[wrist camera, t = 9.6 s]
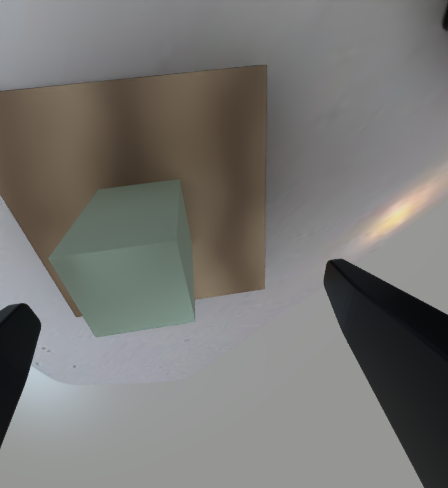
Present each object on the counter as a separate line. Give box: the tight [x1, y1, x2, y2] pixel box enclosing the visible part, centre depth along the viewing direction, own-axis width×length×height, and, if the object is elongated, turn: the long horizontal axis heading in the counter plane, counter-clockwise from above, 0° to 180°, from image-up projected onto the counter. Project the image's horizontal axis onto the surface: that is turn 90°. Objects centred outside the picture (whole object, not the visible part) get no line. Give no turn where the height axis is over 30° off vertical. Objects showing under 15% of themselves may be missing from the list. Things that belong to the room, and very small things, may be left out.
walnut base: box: [0, 65, 267, 317], centre depth 18 cm, size 16×16×2 cm
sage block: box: [48, 179, 195, 337], centre depth 14 cm, size 5×5×7 cm
